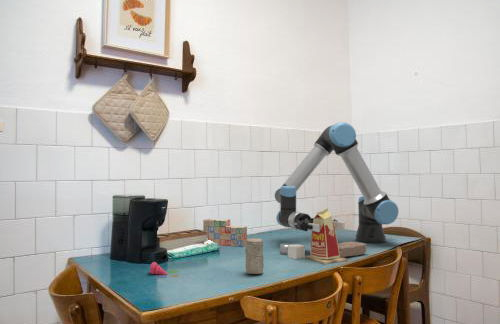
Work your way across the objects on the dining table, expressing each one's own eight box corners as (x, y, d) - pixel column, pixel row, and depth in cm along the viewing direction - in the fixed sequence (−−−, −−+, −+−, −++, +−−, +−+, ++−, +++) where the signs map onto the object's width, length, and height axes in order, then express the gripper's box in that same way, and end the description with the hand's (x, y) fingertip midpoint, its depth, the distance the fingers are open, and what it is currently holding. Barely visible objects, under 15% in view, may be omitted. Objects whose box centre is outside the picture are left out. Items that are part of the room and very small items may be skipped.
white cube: (296, 255, 161) (296, 244, 161) (304, 257, 157) (304, 245, 157) (287, 257, 158) (287, 245, 158) (296, 259, 154) (296, 247, 154)
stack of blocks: (247, 244, 186) (247, 219, 186) (242, 247, 180) (242, 221, 180) (208, 242, 194) (208, 218, 194) (202, 244, 188) (203, 219, 188)
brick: (340, 257, 153) (341, 245, 153) (325, 253, 159) (325, 242, 160) (366, 254, 162) (367, 243, 162) (351, 251, 169) (351, 240, 169)
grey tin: (287, 252, 168) (287, 243, 168) (293, 254, 163) (293, 245, 164) (277, 253, 166) (277, 244, 166) (284, 255, 161) (284, 246, 161)
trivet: (328, 255, 162) (328, 253, 162) (347, 260, 151) (347, 258, 151) (305, 258, 156) (305, 256, 156) (324, 264, 145) (323, 262, 145)
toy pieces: (145, 280, 125) (145, 267, 125) (151, 271, 136) (151, 259, 136) (182, 279, 126) (182, 266, 126) (184, 271, 137) (184, 258, 137)
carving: (265, 271, 135) (265, 237, 136) (261, 277, 128) (261, 241, 128) (248, 270, 137) (248, 237, 137) (243, 275, 129) (243, 240, 130)
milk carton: (324, 254, 160) (322, 206, 161) (340, 257, 152) (339, 207, 153) (308, 256, 154) (307, 207, 156) (325, 260, 147) (323, 209, 148)
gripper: (321, 227, 175) (354, 234, 156) (277, 231, 164) (306, 239, 145) (321, 211, 176) (354, 216, 156) (277, 214, 164) (306, 219, 145)
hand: (331, 227), depth 151 cm, fingers open, 12 cm apart
